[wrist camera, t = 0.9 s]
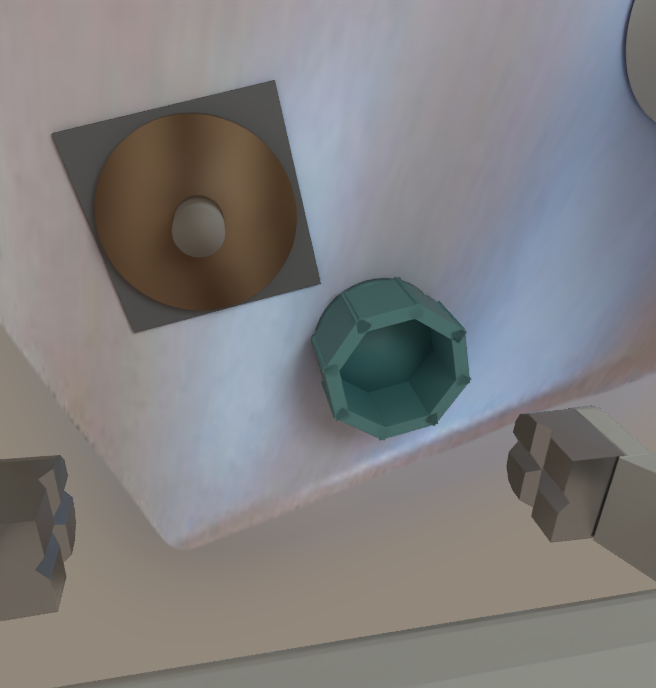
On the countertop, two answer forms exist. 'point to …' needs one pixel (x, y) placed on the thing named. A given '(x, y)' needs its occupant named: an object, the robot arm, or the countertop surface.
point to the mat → (236, 105)
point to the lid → (195, 211)
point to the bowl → (390, 357)
